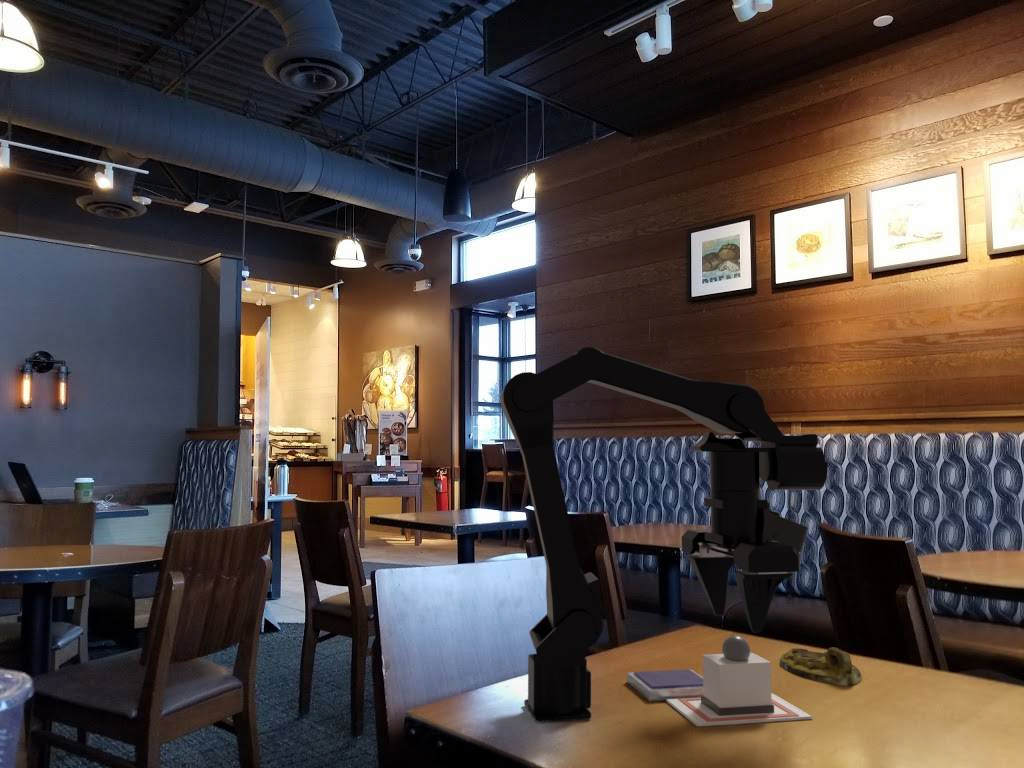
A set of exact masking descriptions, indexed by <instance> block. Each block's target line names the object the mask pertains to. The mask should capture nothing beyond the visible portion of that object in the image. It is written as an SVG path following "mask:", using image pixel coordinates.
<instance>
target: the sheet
mask: <svg viewBox="0 0 1024 768" xmlns="http://www.w3.org/2000/svg"><path fill="white" fill-rule="evenodd" d="M665 702H666V703H667V704H668V705H670V706H671V707H673V709H674V710H676V712H678V713H680V714H681V716H684V717H685V719H687V720H688V721H689V722H690V723H692V724H693V725H695V726H696V727H709V726H710V727H711V726H725V725H727V726H728V725H741V724H753V723H755V724H756V723H770V722H771V723H772V722H787V721H801V720H802V721H803V720H812V719H813V716H812V715H810V714H808V713H807V712H805V711H804V710H801V709H800V708H798V707H797V706H795V705H793V704H792V703H789V702H788V701H786V700H785V699H783V698H781V697H779V696H778V695H777V694H775V693H773V692H771V703H772V704H773V705H774V713H758V714H742V715H725V716H719V715H717V714H716V713H715V712H713V711H712V710H711V709H709V708H708V707H707V706H705V705H704V704H702V703H701V697H697V698H680V699H666V700H665Z"/></svg>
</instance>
